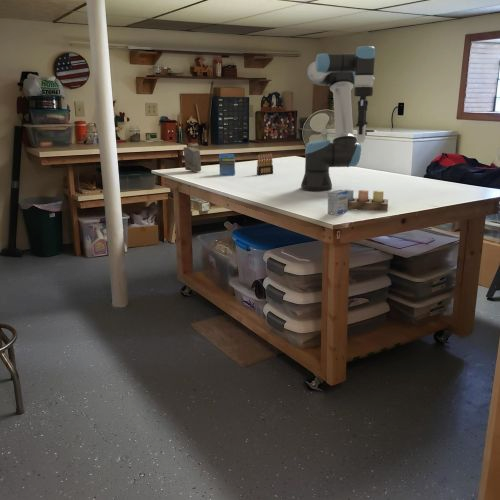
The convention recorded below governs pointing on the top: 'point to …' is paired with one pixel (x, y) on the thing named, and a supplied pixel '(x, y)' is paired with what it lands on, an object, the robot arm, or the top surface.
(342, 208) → the medicine box
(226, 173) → the label tape box
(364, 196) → the button terracotta
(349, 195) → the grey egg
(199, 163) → the geological specimen
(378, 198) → the button ochre
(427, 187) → the top surface
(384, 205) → the button board
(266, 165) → the ammunition clip
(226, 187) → the top surface
